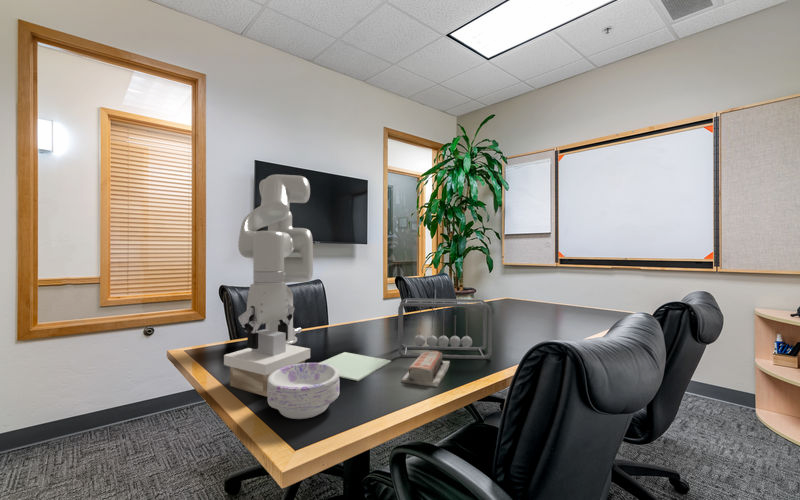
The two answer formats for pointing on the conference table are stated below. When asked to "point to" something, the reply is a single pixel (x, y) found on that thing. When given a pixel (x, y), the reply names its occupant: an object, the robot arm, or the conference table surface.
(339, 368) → the mat
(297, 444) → the conference table surface
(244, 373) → the box
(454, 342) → the newton's cradle
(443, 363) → the packaged product
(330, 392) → the paper bowls
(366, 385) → the conference table surface
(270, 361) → the lid
